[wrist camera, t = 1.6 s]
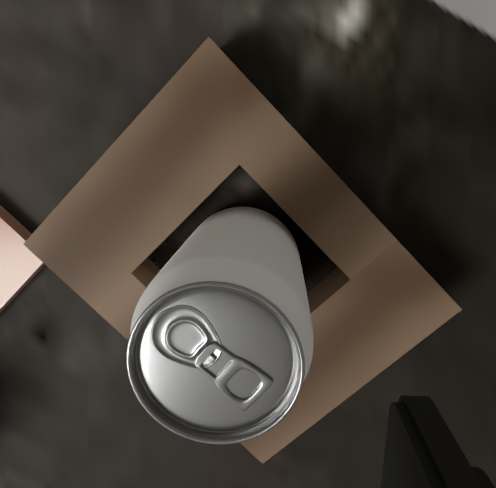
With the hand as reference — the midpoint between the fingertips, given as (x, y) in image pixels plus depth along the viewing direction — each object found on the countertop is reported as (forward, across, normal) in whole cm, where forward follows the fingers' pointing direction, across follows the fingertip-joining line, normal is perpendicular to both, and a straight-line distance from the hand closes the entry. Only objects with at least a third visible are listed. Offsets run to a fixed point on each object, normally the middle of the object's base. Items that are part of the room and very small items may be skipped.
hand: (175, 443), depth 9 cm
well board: (+16, 0, +1) cm, 16 cm away
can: (+16, 0, +1) cm, 16 cm away
